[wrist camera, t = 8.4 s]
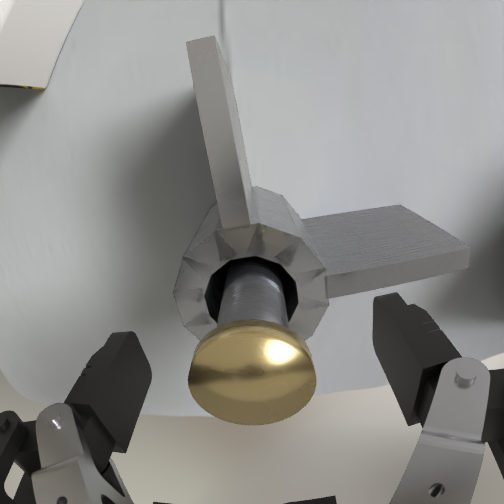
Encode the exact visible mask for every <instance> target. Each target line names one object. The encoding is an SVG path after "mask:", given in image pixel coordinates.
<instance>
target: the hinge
mask: <svg viewBox="0 0 504 504" xmlns="http://www.w3.org/2000/svg"><path fill="white" fill-rule="evenodd" d="M186 46H187V51H188V57H189V62H190V68H191V73H192V79H193V84H194V89H195V95H196V100H197V105H198V110H199V115H200V121H201V126H202V131H203V136H204V141H205V146H206V151H207V156H208V161H209V166H210V171H211V176H212V180H213V185H214V190H215V195H216V200H217V203H216V204H215V205H213V206H212V207H211V208H210V210H209V211H208V213H207V215H206V217H205V218H204V220H203V222H202V224H201V225H200V227H199V229H198V231H197V232H196V234H195V236H194V238H193V240H192V241H191V243H190V245H189V247H188V249H187V251H186V252H185V254H184V256H183V260H182V263H181V267H180V270H179V274H178V277H177V281H176V284H175V288H174V291H173V294H174V297H175V300H176V303H177V306H178V309H179V312H180V315H181V318H182V321H183V324H184V325H183V326H184V327H186V328H187V329H188V330H189V331H190V332H191V333H192V334H193V335H194V336H196V337H197V338H198V339H199V340H200V341H201V340H202V338H203V337H204V336H205V335H207V334H208V333H209V332H210V331H212V330H214V329H215V328H217V323H218V317H219V312H220V307H221V301H222V296H223V291H224V286H225V280H226V275H227V270H228V265H229V260H232V259H239V258H245V257H251V256H258V257H261V258H264V259H267V260H270V261H273V262H276V263H279V269H280V275H281V281H282V287H283V293H284V299H285V305H286V311H287V317H288V324H289V329H291V330H292V331H294V332H295V333H297V334H298V335H299V336H300V337H301V338H302V339H303V340H304V341H305V340H306V339H308V338H309V337H311V336H312V335H313V333H314V331H315V329H316V328H317V326H318V324H319V322H320V320H321V319H322V317H323V315H324V313H325V311H326V309H327V307H328V306H329V300H328V298H333V297H339V296H344V295H349V294H355V293H360V292H365V291H370V290H375V289H379V288H384V287H389V286H394V285H398V284H403V283H408V282H412V281H417V280H421V279H425V278H430V277H434V276H438V275H442V274H446V273H451V272H455V271H459V270H463V269H467V268H469V262H470V252H471V247H469V246H468V245H466V244H465V243H463V242H462V241H460V240H459V239H457V238H455V237H454V236H452V235H451V234H449V233H448V232H446V231H444V230H443V229H441V228H439V227H438V226H436V225H435V224H433V223H431V222H430V221H428V220H426V219H424V218H423V217H421V216H419V215H418V214H416V213H414V212H412V211H411V210H409V209H407V208H405V207H404V206H402V205H395V206H388V207H381V208H374V209H367V210H361V211H354V212H347V213H341V214H334V215H328V216H321V217H315V218H308V219H302V220H301V218H300V217H299V215H298V214H297V213H296V212H295V210H294V209H293V208H292V207H291V205H290V204H289V203H288V202H287V201H286V199H285V198H284V197H283V195H280V194H277V193H274V192H272V191H269V190H266V189H263V188H261V187H258V186H255V187H252V184H251V179H250V173H249V168H248V163H247V157H246V152H245V146H244V141H243V136H242V130H241V125H240V120H239V115H238V109H237V104H236V99H235V94H234V89H233V83H232V78H231V74H230V72H229V69H228V67H227V65H226V62H225V60H224V57H223V55H222V52H221V50H220V47H219V45H218V43H217V40H216V38H215V36H210V37H205V38H201V39H197V40H192V41H188V42H186Z"/></svg>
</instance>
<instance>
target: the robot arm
mask: <svg viewBox="0 0 504 504" xmlns="http://www.w3.org/2000/svg"><path fill="white" fill-rule="evenodd" d="M373 345H374V349H375V353H376V355H377V357H378V359H379V361H380V363H381V366H382V368H383V370H384V372H385V374H386V376H387V379H388V381H389V383H390V385H391V387H392V390H393V392H394V394H395V396H396V398H397V401H398V403H399V406H400V408H401V410H402V412H403V415H404V417H405V420H406V422H407V424H408V426H411V425H414V424H417V423H421V426H422V428H423V430H422V432H421V435H420V437H419V440H418V442H417V445H416V447H415V450H414V452H413V454H412V457H411V459H410V461H409V464H408V466H407V469H406V470H405V473H404V475H403V477H402V479H401V481H400V484H399V485H398V487H397V489H396V491H395V493H394V495H393V497H392V499H391V501H390V503H389V504H470V502H471V499H472V496H473V493H474V490H475V486H476V483H477V480H478V476H479V472H480V468H481V464H482V460H483V456H484V451H485V442H488V444H489V446H490V448H491V451H492V453H493V455H494V457H495V460H496V462H497V464H498V467H499V469H500V471H501V474H502V476H503V479H504V369H497V370H488V369H487V367H486V366H485V365H484V364H483V363H481V362H480V361H478V360H476V359H473V358H467V357H462V356H461V355H460V354H459V352H458V351H457V350H456V348H455V347H454V346H453V344H452V343H451V342H450V340H449V339H448V338H447V337H446V335H445V334H444V333H443V331H442V330H440V328H439V326H438V325H437V324H436V323H435V322H434V320H433V319H432V318H431V316H430V315H429V314H428V313H427V311H425V310H424V309H422V308H420V307H418V306H417V305H415V304H411V305H407V304H406V303H405V301H404V300H403V299H402V298H401V296H400V295H399V294H398V293H391V294H386V295H382V296H377V297H375V298H374V302H373ZM151 379H152V372H151V367H150V364H149V362H148V360H147V358H146V356H145V353H144V351H143V349H142V347H141V345H140V342H139V340H138V338H137V336H136V334H135V333H134V332H132V331H129V332H117V333H112V334H111V335H110V337H109V338H108V340H107V342H106V343H105V345H104V346H103V347H102V348H101V349H99V350H98V351H97V352H96V353H95V354H94V355H93V356H92V357H91V358H90V360H89V362H88V363H87V365H86V368H84V370H83V371H82V373H81V376H79V378H78V380H77V381H76V383H75V385H74V386H73V388H72V390H71V391H70V393H69V395H68V396H67V398H66V400H65V402H64V403H56V404H53V405H50V406H48V407H47V408H45V409H44V410H43V411H42V412H41V413H40V414H39V416H38V418H37V420H36V421H29V422H22V421H21V419H20V418H19V417H18V415H17V414H16V413H15V412H13V411H4V412H2V413H0V504H134V503H133V501H132V500H131V497H130V495H129V494H128V491H127V489H126V487H125V486H124V483H123V481H122V479H121V477H120V475H119V473H118V470H117V468H116V466H115V464H114V462H113V460H112V459H111V458H110V456H111V454H112V452H119V453H126V451H127V448H128V446H129V442H130V440H131V437H132V434H133V431H134V428H135V425H136V422H137V419H138V417H139V414H140V411H141V408H142V405H143V403H144V400H145V397H146V394H147V391H148V389H149V386H150V383H151ZM13 462H15V463H16V464H17V465H18V466H19V467H20V468H21V469H22V470H23V471H24V475H23V477H22V479H21V482H20V484H19V487H18V489H17V492H16V494H15V496H14V499H13V500H12V499H11V498H10V497H9V496H8V495H7V494H6V492H5V489H4V482H5V480H6V477H7V475H8V473H9V471H10V469H11V466H12V464H13ZM153 504H169V503H158V502H153ZM285 504H337V503H336V498H335V496H330V497H324V498H319V499H312V500H305V501H297V502H289V503H285Z"/></svg>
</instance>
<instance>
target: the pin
mask: <svg viewBox="0 0 504 504" xmlns="http://www.w3.org/2000/svg"><path fill="white" fill-rule="evenodd" d="M188 385H189V389H190V392H191V394H192V396H193V398H194V399H195V401H196V402H197V403H198V404H199V405H200V406H201V407H202V408H203V409H204V410H205V411H207V412H208V413H210V414H211V415H213V416H215V417H217V418H219V419H222V420H224V421H228V422H231V423H235V424H242V425H264V424H270V423H274V422H278V421H281V420H284V419H286V418H288V417H290V416H292V415H294V414H296V413H297V412H299V411H300V410H301V409H302V408H303V407H304V406H306V404H307V403H308V402H309V401H310V399H311V398H312V396H313V394H314V391H315V388H316V374H315V369H314V365H313V360H312V356H311V353H310V350H309V348H308V346H307V344H306V343H305V341H304V340H303V339H302V338H301V337H300V336H299V335H298V334H297V333H295V332H294V331H292V330H291V329H289V324H288V317H287V311H286V305H285V299H284V293H283V287H282V281H281V275H280V269H279V263H276V262H273V261H270V260H267V259H264V258H261V257H258V256H251V257H245V258H239V259H232V260H229V265H228V270H227V275H226V280H225V286H224V291H223V296H222V301H221V307H220V312H219V317H218V323H217V328H215V329H214V330H212V331H210V332H209V333H208V334H207V335H205V336H204V337H203V338H202V340H201V341H200V342H199V344H198V345H197V347H196V349H195V351H194V355H193V359H192V363H191V367H190V371H189V375H188Z"/></svg>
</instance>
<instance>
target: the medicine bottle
mask: <svg viewBox="0 0 504 504" xmlns="http://www.w3.org/2000/svg"><path fill="white" fill-rule="evenodd" d="M83 2H84V1H83V0H0V87H14V88H27V89H38V90H43V89H45V88H46V87H47V85H48V82H49V79H50V77H51V74H52V71H53V69H54V66H55V63H56V61H57V58H58V56H59V53H60V51H61V49H62V46H63V44H64V42H65V39H66V37H67V35H68V33H69V31H70V29H71V26H72V24H73V22H74V20H75V18H76V16H77V14H78V12H79V10H80V8H81V6H82V5H83Z"/></svg>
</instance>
